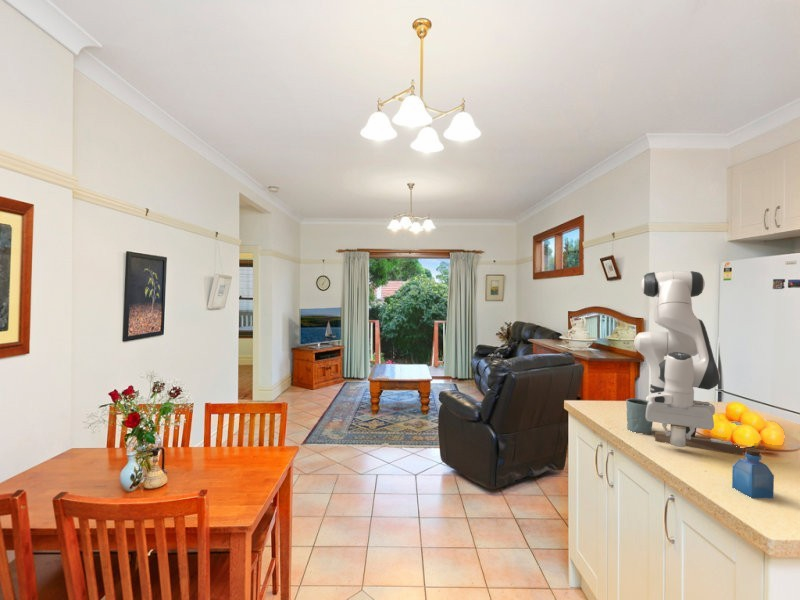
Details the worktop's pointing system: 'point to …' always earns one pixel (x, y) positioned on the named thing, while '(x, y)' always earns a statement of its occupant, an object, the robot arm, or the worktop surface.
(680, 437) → the round canister
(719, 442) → the walnut fence
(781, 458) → the worktop surface
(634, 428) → the grey-green plant pot
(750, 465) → the perfume bottle
